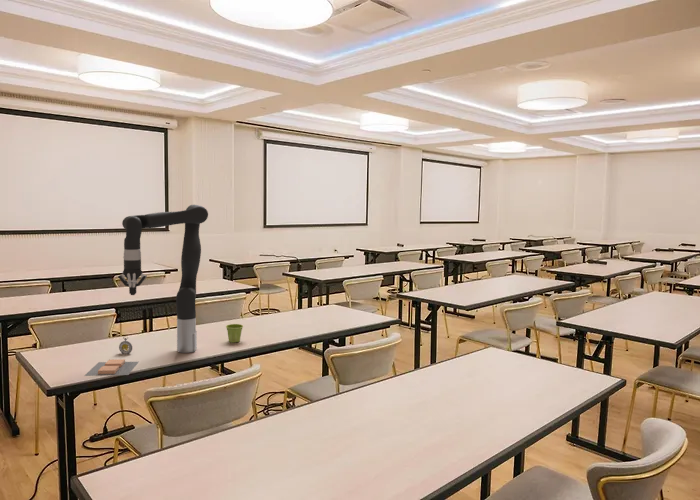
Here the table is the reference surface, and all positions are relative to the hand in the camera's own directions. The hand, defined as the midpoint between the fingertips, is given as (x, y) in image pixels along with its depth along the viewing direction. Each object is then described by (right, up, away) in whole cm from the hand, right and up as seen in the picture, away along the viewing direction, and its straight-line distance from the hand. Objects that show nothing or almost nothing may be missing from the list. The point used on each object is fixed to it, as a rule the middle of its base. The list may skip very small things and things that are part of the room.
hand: (132, 294), depth 238 cm
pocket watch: (-8, -31, +7) cm, 33 cm away
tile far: (-1, -31, -7) cm, 32 cm away
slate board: (-4, -33, -12) cm, 35 cm away
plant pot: (+39, -30, +40) cm, 63 cm away
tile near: (0, -32, -16) cm, 35 cm away
